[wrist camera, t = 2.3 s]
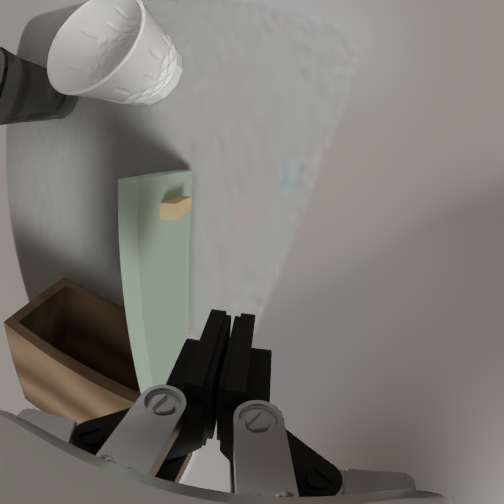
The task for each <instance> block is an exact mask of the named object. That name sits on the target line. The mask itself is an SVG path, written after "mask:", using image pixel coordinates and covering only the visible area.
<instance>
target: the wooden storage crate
mask: <svg viewBox="0 0 504 504" xmlns="http://www.w3.org/2000/svg"><path fill="white" fill-rule="evenodd" d="M4 325H5V330H6V335H7V339H8V343H9V347H10V351H11V355H12V358H13V362H14V365H15V368H16V372H17V375H18V378H19V381H20V384H21V387H22V390H23V392H24V395H25V398H26V399H27V400H28V401H29V402H30V403H32V404H33V405H35V406H36V407H37V408H39V409H40V410H41V411H43V412H45V413H49V414H52V415H56V416H60V417H64V418H68V419H72V420H75V421H76V423H79V424H80V423H82V422H85V421H88V420H91V419H95V418H99V417H102V416H105V415H109V414H112V413H115V412H118V411H121V410H125V409H128V408H131V407H132V406H133V405H134V403H135V402H136V401H137V399H138V398H139V397H140V395H141V392H140V388H139V384H138V379H137V375H136V370H135V365H134V360H133V355H132V350H131V344H130V338H129V332H128V326H127V319H126V312H125V309H124V308H122V307H120V306H118V305H116V304H114V303H112V302H110V301H107V300H105V299H103V298H101V297H99V296H97V295H95V294H93V293H91V292H90V291H88V290H86V289H84V288H82V287H80V286H78V285H76V284H74V283H73V282H71V281H69V280H67V279H65V278H63V279H61V280H60V281H59V282H57V283H56V284H54V285H53V286H51V287H50V288H49V289H47V290H46V291H44V292H43V293H42V294H40V295H39V296H37V297H36V298H35V299H33V300H32V301H31V302H29V303H28V304H27V305H25V306H24V307H23V308H21V309H20V310H19V311H18V312H16V313H15V314H14V315H12V316H11V317H10V318H8V319H7V320H6V321H5V322H4ZM170 374H171V373H170ZM169 377H170V375H169ZM169 377H168V379H169ZM168 379H167V381H168ZM166 383H167V382H166ZM165 385H166V384H165Z"/></svg>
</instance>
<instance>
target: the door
mask: <svg viewBox="0 0 504 504" xmlns="http://www.w3.org/2000/svg"><path fill="white" fill-rule="evenodd" d="M192 184H193V170H173V171H166V172H159V173H152V174H145V175H139V176H133V177H127V178H122V179H118V230H119V251H120V265H121V277H122V287H123V296H124V304H125V312H126V319H127V326H128V332H129V338H130V344H131V350H132V355H133V360H134V365H135V370H136V375H137V379H138V384H139V388H140V392H141V394H142V393H143V392H144V391H145V390H146V389H148V388H150V387H152V386H156V385H165V384H166V382H167V379H168V377H169V375H170V373H171V370H172V368H173V366H174V364H175V361H176V359H177V357H178V355H179V352H180V350H181V348H182V346H183V344H184V341H185V339H186V337H187V335H188V333H189V330H190V328H189V254H190V222H191V203H192Z"/></svg>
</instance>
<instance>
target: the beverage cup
mask: <svg viewBox="0 0 504 504" xmlns="http://www.w3.org/2000/svg"><path fill="white" fill-rule="evenodd" d="M77 98H78V96H72V95H65V94H62V93H60V92H58V91H57V90H55V89H54V88H53V86H52V85H51V83H50V81H49V79H48V75H47V69H46V68H43V67H41V66H38V65H36V64H33V63H31V62H28V61H25V60H23V59H20V58H19V57H17V56H16V55H14V54H12V53H10V52H8V51H7V50H6V49H4V48H2V47H0V125H3V124H11V123H20V122H31V121H44V120H52V119H61V118H64V117H66V116H67V115H69V113H70V112H71V111H72V110H73V108H74V106H75V104H76V102H77Z"/></svg>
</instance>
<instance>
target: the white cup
mask: <svg viewBox="0 0 504 504" xmlns="http://www.w3.org/2000/svg"><path fill="white" fill-rule="evenodd" d="M182 72H183V67H182V57H181V55H180V54H179V52H178V51H177V50H176V48H175V47H174V45H173V43H172V40H171V39H170V38H169V36H168V35H167V33H166V32H165V31H164V29H163V27H162V26H161V25H160V23H159V22H158V21H157V20H156V19H155V18H154V16H153V15H152V14H151V12H150V11H149V10H148V9H147V7H146V6H145V5H144V4H143V2H142V1H141V0H89V1H88V2H86V3H85V4H83V5H82V6H81V7H79V8H78V9H77V10H76V11H75V12H74V13H73V14H72V15H71V16H70V17H69V18H68V19H67V20H66V21H65V22H64V24H63V25H62V26H61V28H60V29H59V31H58V32H57V34H56V36H55V38H54V40H53V42H52V44H51V47H50V50H49V54H48V59H47V75H48V79H49V81H50V83H51V85H52V86H53V88H54V89H55V90H57V91H58V92H60V93H62V94H65V95H72V96H79V97H85V98H91V99H97V100H102V101H108V102H115V103H122V104H130V105H134V106H144V105H152V104H154V103H156V102H158V101H160V100H162V99H164V98H166V97H167V96H168V94H169V93H170V92H171V91H172V90H173V89H174V88H175V87H176V86H177V84H178V81H179V79H180V76H181V74H182Z"/></svg>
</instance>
